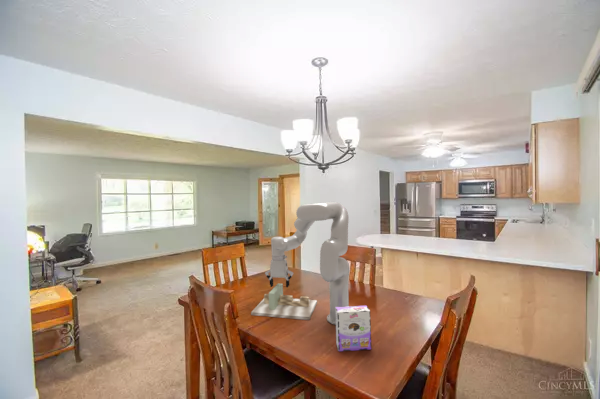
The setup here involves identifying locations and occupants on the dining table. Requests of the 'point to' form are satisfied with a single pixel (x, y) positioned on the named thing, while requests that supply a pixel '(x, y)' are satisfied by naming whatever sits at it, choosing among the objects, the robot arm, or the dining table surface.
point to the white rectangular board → (287, 307)
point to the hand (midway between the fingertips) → (279, 286)
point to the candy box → (353, 328)
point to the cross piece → (275, 296)
